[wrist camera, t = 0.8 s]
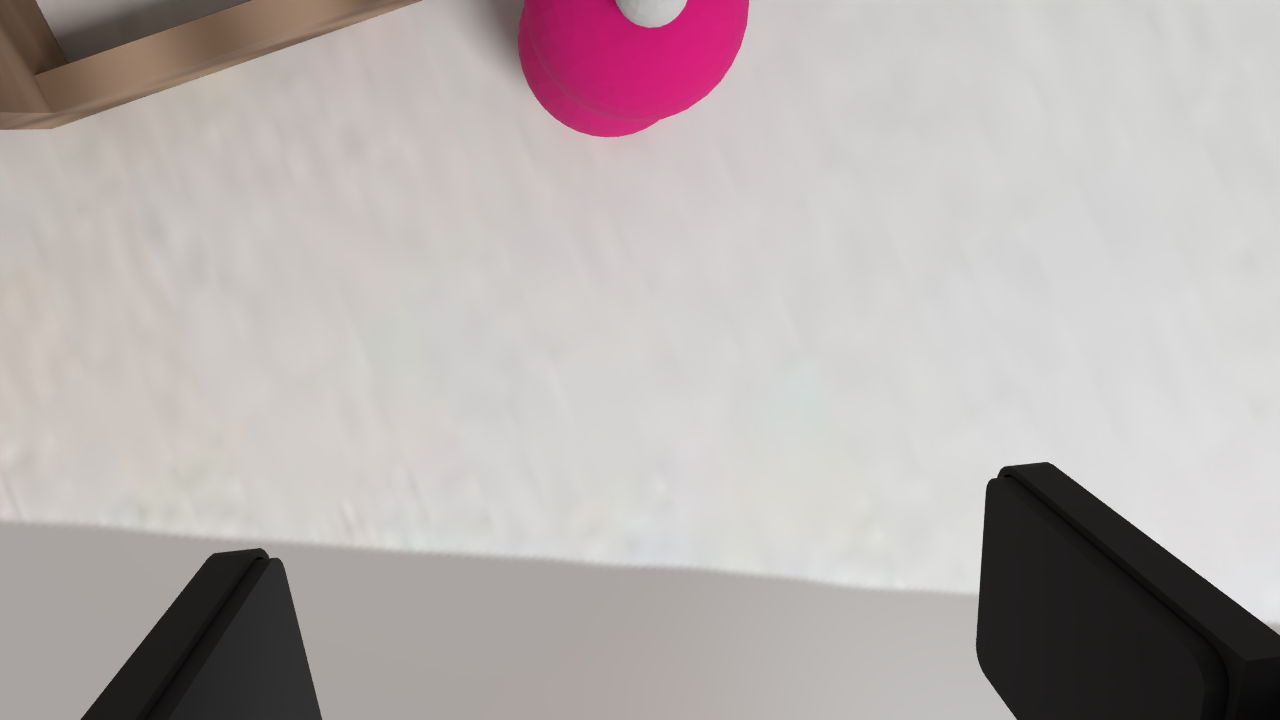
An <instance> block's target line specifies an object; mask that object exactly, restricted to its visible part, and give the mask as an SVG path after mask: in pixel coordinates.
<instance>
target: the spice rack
mask: <svg viewBox="0 0 1280 720" xmlns="http://www.w3.org/2000/svg"><path fill="white" fill-rule="evenodd" d="M419 1H422V0H251V1H248V2H245V3H242V4H240V5H237V6H234V7H231V8H228V9H225V10H222V11H219V12H216V13H214V14H211V15H208V16H205V17H202V18H199V19H196V20H193V21H190V22H188V23H185V24H182V25H179V26H176V27H173V28H170V29H167V30H165V31H162V32H159V33H156V34H153V35H150V36H147V37H144V38H141V39H139V40H136V41H133V42H130V43H127V44H124V45H121V46H118V47H115V48H113V49H110V50H107V51H104V52H101V53H98V54H95V55H92V56H90V57H87V58H84V59H81V60H78V61H75V62H72V63H69V64H68V62H67V60H66V58H65V57H64V55H63V53H62V51H61V49H60V47H59V45H58V43H57V41H56V39H55V37H54V35H53V34H52V32H51V30H50V28H49V26H48V24H47V22H46V20H45V18H44V16H43V14H42V13H41V11H40V9H39V7H38V5H37V3H36V1H35V0H0V130H16V129H53V128H56V127H58V126H61V125H64V124H67V123H70V122H73V121H76V120H79V119H82V118H84V117H87V116H90V115H93V114H96V113H99V112H102V111H105V110H107V109H110V108H113V107H116V106H119V105H122V104H125V103H128V102H131V101H133V100H136V99H139V98H142V97H145V96H148V95H151V94H154V93H156V92H159V91H162V90H165V89H168V88H171V87H174V86H177V85H179V84H182V83H185V82H188V81H191V80H194V79H197V78H200V77H203V76H205V75H208V74H211V73H214V72H217V71H220V70H223V69H226V68H228V67H231V66H234V65H237V64H240V63H243V62H246V61H249V60H252V59H254V58H257V57H260V56H263V55H266V54H269V53H272V52H275V51H277V50H280V49H283V48H286V47H289V46H292V45H295V44H298V43H301V42H303V41H306V40H309V39H312V38H315V37H318V36H321V35H324V34H326V33H329V32H332V31H335V30H338V29H341V28H344V27H347V26H350V25H352V24H355V23H358V22H361V21H364V20H367V19H370V18H373V17H375V16H378V15H381V14H384V13H387V12H390V11H393V10H396V9H398V8H401V7H404V6H407V5H410V4H413V3H416V2H419Z"/></svg>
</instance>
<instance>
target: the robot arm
mask: <svg viewBox="0 0 1280 720" xmlns="http://www.w3.org/2000/svg"><path fill="white" fill-rule="evenodd" d="M976 651H977V657H978V661H979V664H980V666H981V669H982V671H983V673H984V674H985V676H986V678H987V679H988V680H989V682H990V683H991V684H992V686H993V687H994V689H995V690H996V691H997V693H998V694H999V695H1000V697H1001V698H1002V700H1003V701H1004V702H1005V704H1006V705H1007V707H1008V708H1009V709H1010V711H1011V712H1012V713H1013V715H1014V716H1015V717H1016V719H1017V720H1280V635H1278V634H1277V633H1276V632H1275V631H1273V630H1272V629H1270V628H1269V627H1268V626H1267V625H1265V624H1264V623H1263V622H1261V621H1260V620H1259V619H1257V618H1256V617H1255V616H1253V615H1252V614H1251V613H1249V612H1248V611H1247V610H1245V609H1244V608H1243V607H1241V606H1240V605H1239V604H1237V603H1236V602H1235V601H1233V600H1232V599H1231V598H1229V597H1228V596H1227V595H1225V594H1224V593H1223V592H1221V591H1220V590H1219V589H1217V588H1216V587H1215V586H1214V585H1212V584H1211V583H1210V582H1208V581H1207V580H1206V579H1204V578H1203V577H1202V576H1200V575H1199V574H1198V573H1196V572H1195V571H1194V570H1192V569H1191V568H1190V567H1188V566H1187V565H1186V564H1184V563H1183V562H1182V561H1180V560H1179V559H1178V558H1176V557H1175V556H1174V555H1172V554H1171V553H1170V552H1168V551H1167V550H1166V549H1164V548H1163V547H1162V546H1160V545H1159V544H1158V543H1156V542H1155V541H1154V540H1152V539H1151V538H1150V537H1148V536H1147V535H1146V534H1144V533H1143V532H1142V531H1140V530H1139V529H1138V528H1136V527H1135V526H1134V525H1132V524H1131V523H1130V522H1128V521H1127V520H1126V519H1124V518H1123V517H1122V516H1120V515H1119V514H1118V513H1116V512H1115V511H1114V510H1112V509H1111V508H1110V507H1108V506H1107V505H1106V504H1105V503H1103V502H1102V501H1101V500H1099V499H1098V498H1097V497H1095V496H1094V495H1093V494H1091V493H1090V492H1089V491H1087V490H1086V489H1085V488H1083V487H1082V486H1081V485H1079V484H1078V483H1077V482H1075V481H1074V480H1073V479H1071V478H1070V477H1069V476H1067V475H1066V474H1065V473H1063V472H1062V471H1061V470H1059V469H1058V468H1057V467H1055V466H1054V465H1052V464H1050V463H1048V462H1042V463H1033V464H1024V465H1015V466H1005V467H1003V468H1002V469H1001V470H1000V472H999V474H998V476H997V478H994V479H991V480H990V481H989V482H988V484H987V488H986V499H985V515H984V530H983V546H982V561H981V576H980V592H979V608H978V623H977V638H976ZM81 720H322V717H321V713H320V709H319V705H318V701H317V697H316V693H315V689H314V685H313V681H312V677H311V673H310V669H309V665H308V661H307V657H306V653H305V649H304V645H303V641H302V637H301V633H300V629H299V625H298V621H297V617H296V612H295V608H294V604H293V600H292V597H291V592H290V589H289V584H288V581H287V576H286V572H285V569H284V566H283V563H282V562H281V560H280V559H278V558H269V556H268V554H267V553H266V552H265V551H264V550H263V549H261V548H258V549H249V550H239V551H231V552H222V553H214V554H212V556H210V557H209V558H208V559H207V560H206V562H205V563H204V564H203V565H202V567H201V568H200V569H199V571H198V572H197V573H196V574H195V576H194V577H193V578H192V579H191V581H190V582H189V583H188V584H187V586H186V587H185V588H184V589H183V591H182V592H181V593H180V595H179V596H178V597H177V598H176V600H175V601H174V602H173V603H172V605H171V606H170V607H169V608H168V610H167V611H166V613H165V614H164V615H163V616H162V617H161V619H160V620H159V621H158V622H157V624H156V625H155V626H154V627H153V629H152V630H151V631H150V633H149V634H148V635H147V636H146V638H145V639H144V640H143V641H142V643H141V644H140V645H139V646H138V648H137V649H136V650H135V652H134V653H133V654H132V655H131V657H130V658H129V659H128V660H127V662H126V663H125V664H124V666H123V667H122V668H121V669H120V671H119V672H118V673H117V674H116V676H115V677H114V678H113V679H112V681H111V682H110V683H109V684H108V686H107V687H106V688H105V689H104V691H103V692H102V693H101V695H100V696H99V697H98V698H97V700H96V701H95V702H94V704H93V705H92V706H91V707H90V709H89V710H88V711H87V712H86V714H85V715H84V716H83V717H82V719H81Z"/></svg>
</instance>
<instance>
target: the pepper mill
mask: <svg viewBox="0 0 1280 720" xmlns="http://www.w3.org/2000/svg"><path fill="white" fill-rule="evenodd" d="M524 4H525V6H524V9H523V13H522V16H521V20H520V25H519V37H518V44H519V56H520V60H521V65H522V69H523V72H524V75H525V77H526V80H527V82H528V85H529V87H530V88H531V90H532V92H533V93H534V95H535V97H536V98H537V100H538V101H539V102H540V103H541V105H542V106H543V107H544V108H545V109H546V110H547V111H548V112H549V113H550V114H551V115H552V116H553V117H554V118H556V119H557V120H559V121H560V122H562V123H563V124H565V125H566V126H568V127H570V128H572V129H574V130H576V131H579V132H581V133H585V134H589V135H592V136H600V137H619V136H624V135H629V134H633V133H636V132H638V131H641V130H643V129H646V128H647V127H649V126H651V125H652V124H654V123H656V122H657V121H658V120H660V119H663V118H666V117H669V116H672V115H674V114H677V113H679V112H681V111H684V110H686V109H688V108H689V107H691V106H692V105H694V104H695V103H697V102H698V101H699V100H701V99H702V98H704V97H705V96H706V95H708V94H709V93H710V92H711V90H712V89H713V88H714V87H715V86H716V85H717V84H718V83H719V82H720V81H721V80H722V78H723V77H724V75H725V74H726V73H727V71H728V70H729V68H730V67H731V65H732V63H733V61H734V59H735V57H736V55H737V53H738V51H739V49H740V47H741V43H742V40H743V37H744V33H745V30H746V26H747V18H748V8H749V0H524Z"/></svg>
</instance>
